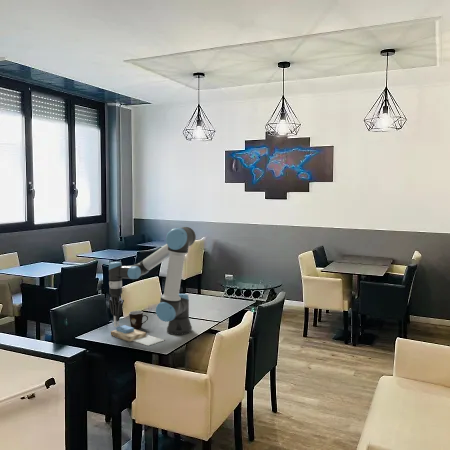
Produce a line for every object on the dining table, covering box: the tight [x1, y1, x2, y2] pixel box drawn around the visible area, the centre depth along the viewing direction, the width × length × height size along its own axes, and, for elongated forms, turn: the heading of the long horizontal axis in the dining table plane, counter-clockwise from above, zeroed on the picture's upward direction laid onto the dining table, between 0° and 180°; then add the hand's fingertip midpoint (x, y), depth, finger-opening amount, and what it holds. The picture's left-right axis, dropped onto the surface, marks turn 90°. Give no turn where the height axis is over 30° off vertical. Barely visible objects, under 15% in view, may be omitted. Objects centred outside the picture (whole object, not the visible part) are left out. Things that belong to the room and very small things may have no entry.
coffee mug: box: [128, 310, 149, 330], centre depth 277 cm, size 12×9×10 cm
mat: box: [131, 334, 165, 347], centre depth 253 cm, size 12×14×1 cm
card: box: [115, 324, 134, 334], centre depth 264 cm, size 9×6×2 cm, turn 49°
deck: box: [110, 329, 147, 343], centre depth 262 cm, size 12×18×2 cm, turn 49°
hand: (116, 326), depth 270 cm, fingers closed
